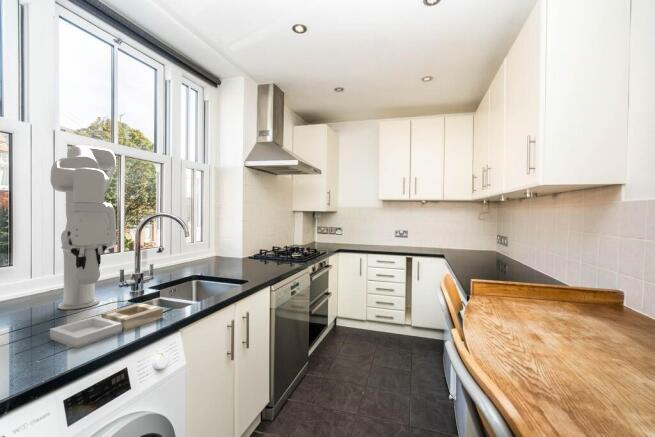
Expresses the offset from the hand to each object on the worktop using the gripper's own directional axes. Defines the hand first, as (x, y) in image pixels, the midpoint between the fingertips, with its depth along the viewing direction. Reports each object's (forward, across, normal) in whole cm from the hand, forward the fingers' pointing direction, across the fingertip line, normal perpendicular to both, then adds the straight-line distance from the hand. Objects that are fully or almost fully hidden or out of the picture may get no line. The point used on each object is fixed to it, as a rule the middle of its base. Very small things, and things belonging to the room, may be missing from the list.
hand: (88, 267), depth 88 cm
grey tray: (+21, 0, 0) cm, 21 cm away
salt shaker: (+5, 0, 0) cm, 5 cm away
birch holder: (+21, -14, 0) cm, 25 cm away
